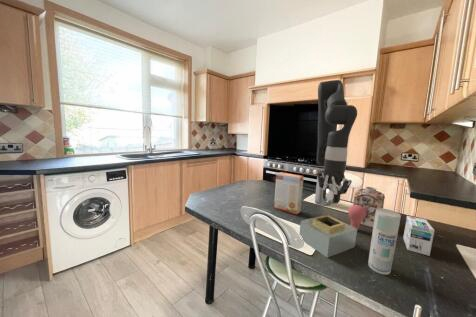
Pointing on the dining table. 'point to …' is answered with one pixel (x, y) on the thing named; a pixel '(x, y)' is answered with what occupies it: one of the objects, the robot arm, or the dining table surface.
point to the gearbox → (328, 235)
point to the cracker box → (288, 192)
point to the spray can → (383, 240)
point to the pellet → (329, 195)
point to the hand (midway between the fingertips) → (330, 200)
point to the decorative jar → (369, 203)
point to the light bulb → (356, 215)
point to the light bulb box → (418, 235)
